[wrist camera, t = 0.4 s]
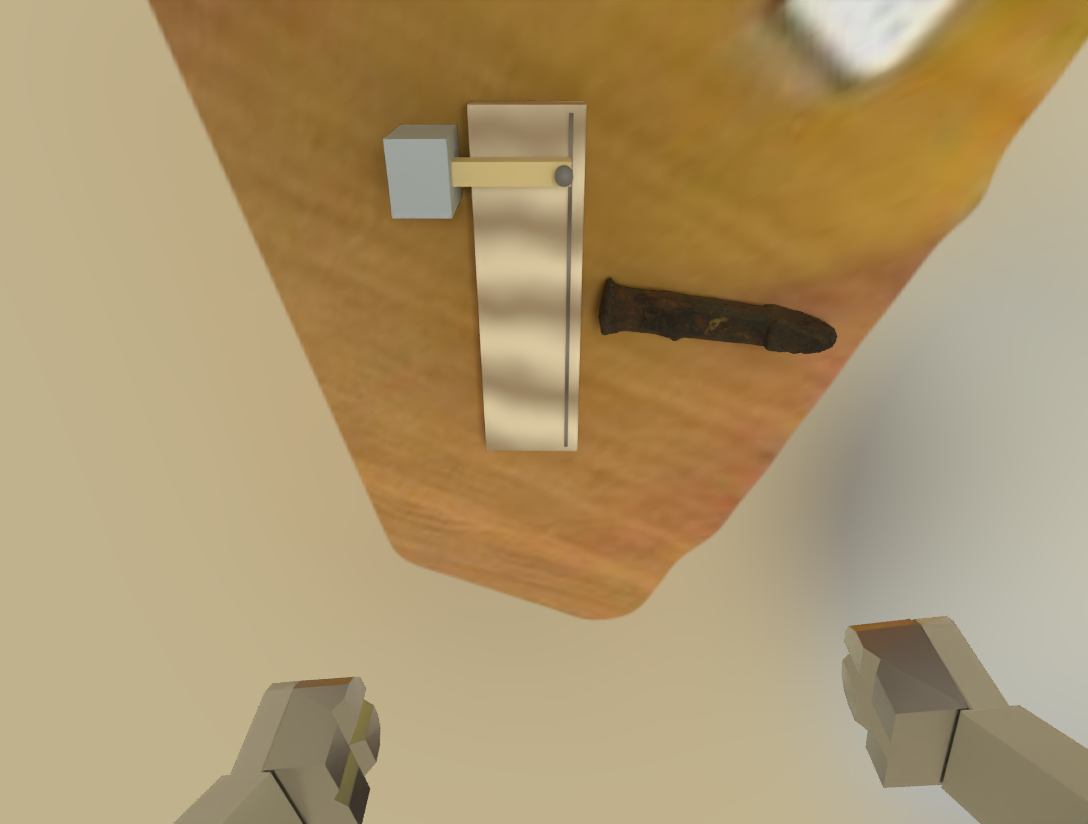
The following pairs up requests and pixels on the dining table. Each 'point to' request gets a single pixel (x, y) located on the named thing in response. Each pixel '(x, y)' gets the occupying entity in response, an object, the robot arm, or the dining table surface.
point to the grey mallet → (454, 171)
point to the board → (529, 276)
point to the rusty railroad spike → (711, 320)
